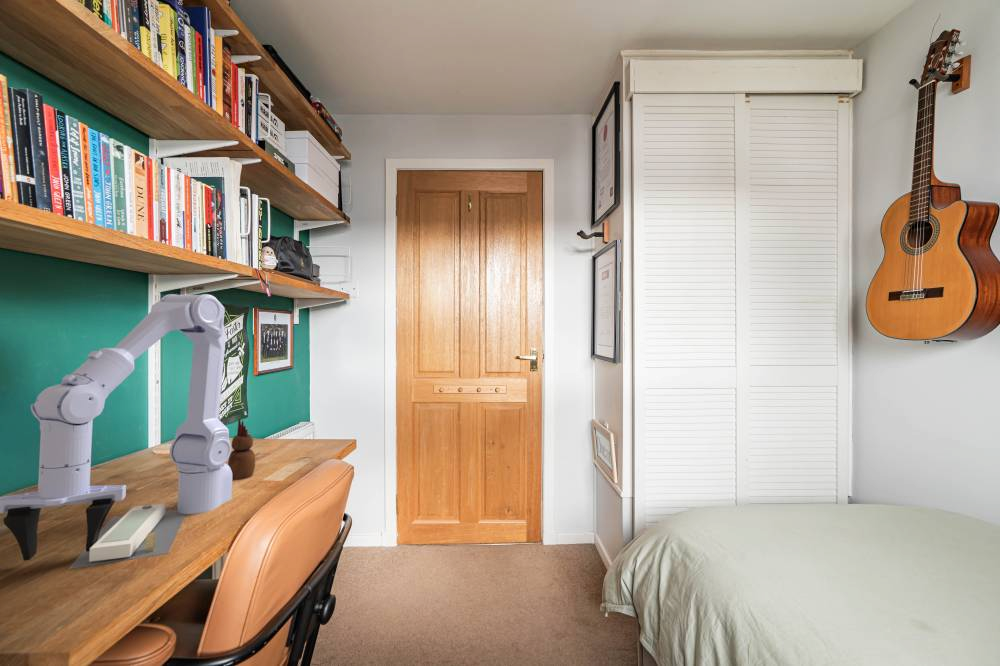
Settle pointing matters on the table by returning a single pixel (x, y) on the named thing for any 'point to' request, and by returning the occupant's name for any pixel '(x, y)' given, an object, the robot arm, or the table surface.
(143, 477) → the table surface
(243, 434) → the wooden figurine
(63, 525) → the table surface
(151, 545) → the board
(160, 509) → the frame
